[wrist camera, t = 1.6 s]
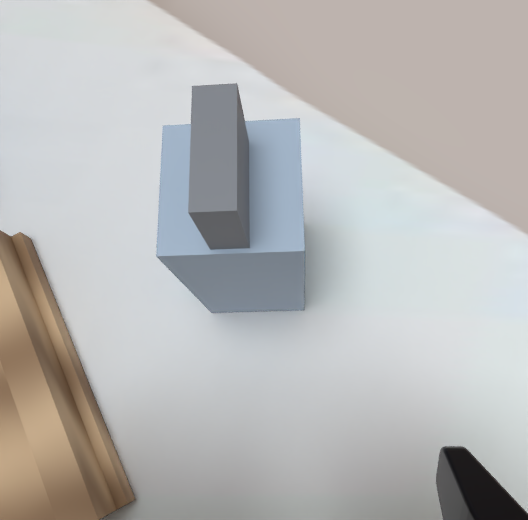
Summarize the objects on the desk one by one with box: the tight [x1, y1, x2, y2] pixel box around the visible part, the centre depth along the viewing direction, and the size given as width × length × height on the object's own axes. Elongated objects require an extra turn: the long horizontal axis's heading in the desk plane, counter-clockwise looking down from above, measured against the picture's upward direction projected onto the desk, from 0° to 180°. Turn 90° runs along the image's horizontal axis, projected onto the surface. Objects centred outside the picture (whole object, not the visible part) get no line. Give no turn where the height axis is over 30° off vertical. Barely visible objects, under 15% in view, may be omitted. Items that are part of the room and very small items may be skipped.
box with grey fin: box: [156, 83, 305, 313], centre depth 19 cm, size 4×4×12 cm
